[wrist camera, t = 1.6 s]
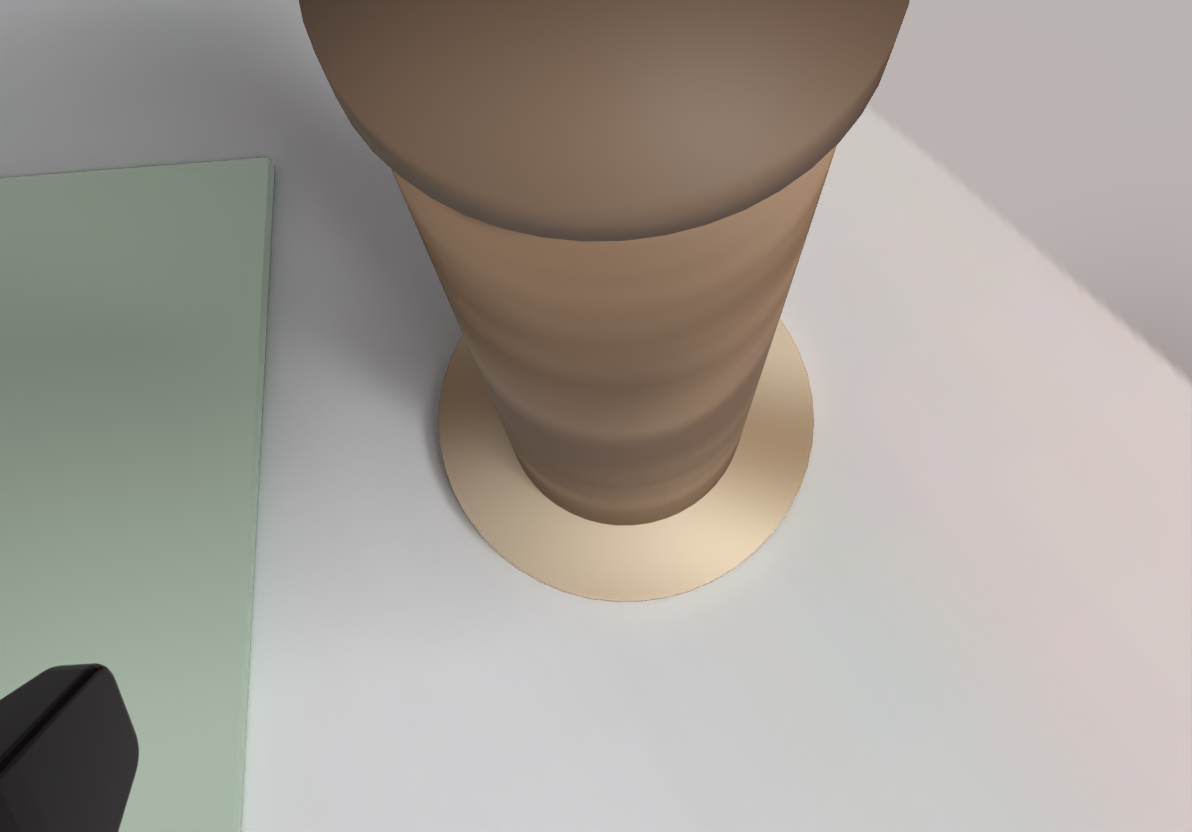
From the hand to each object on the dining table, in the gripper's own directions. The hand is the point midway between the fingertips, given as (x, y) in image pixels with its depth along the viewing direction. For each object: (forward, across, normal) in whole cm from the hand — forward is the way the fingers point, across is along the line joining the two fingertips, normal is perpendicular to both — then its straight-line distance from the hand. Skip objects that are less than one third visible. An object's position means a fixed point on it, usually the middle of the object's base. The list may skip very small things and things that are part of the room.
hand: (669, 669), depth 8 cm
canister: (+13, 0, +4) cm, 13 cm away
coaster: (+13, 0, +4) cm, 14 cm away
